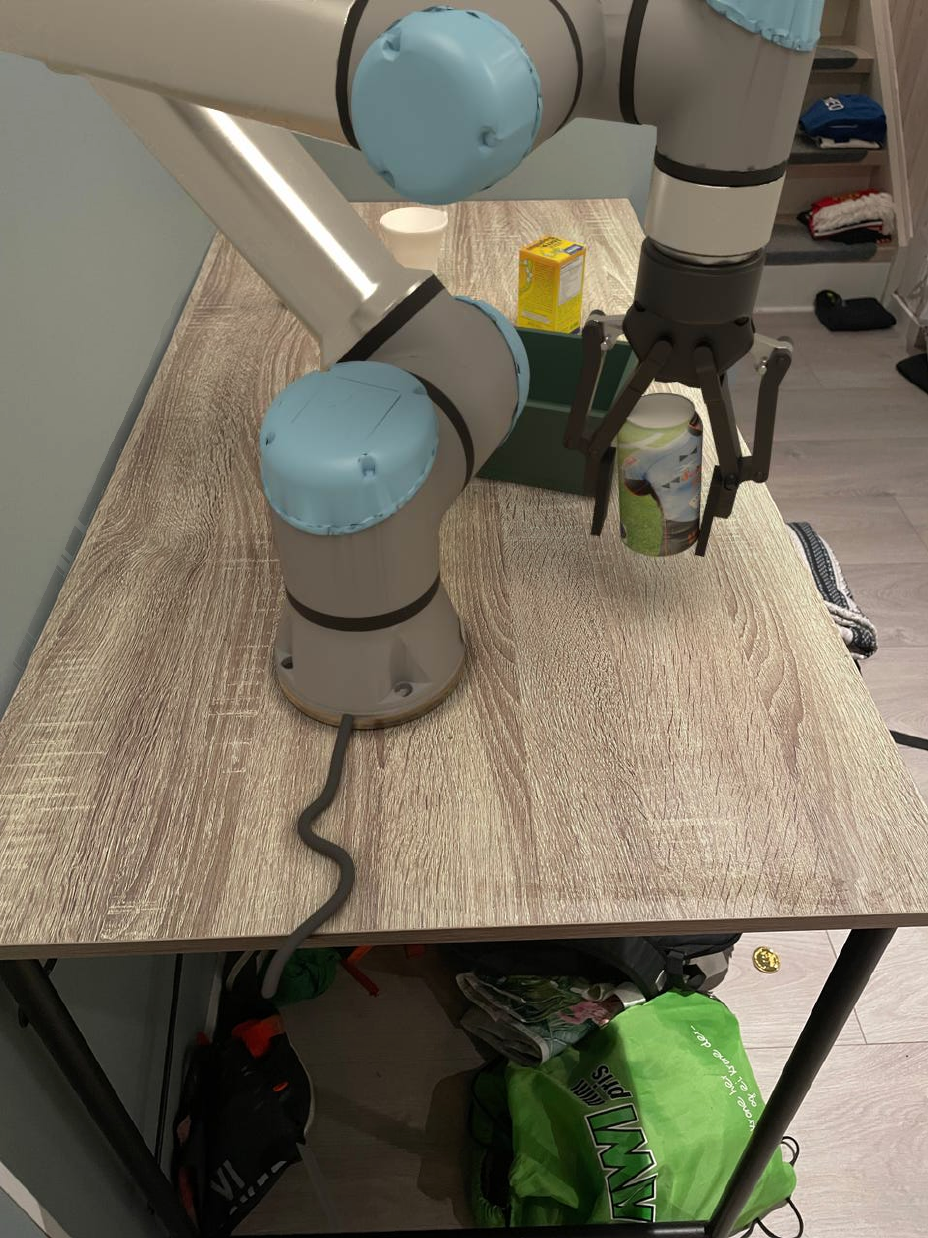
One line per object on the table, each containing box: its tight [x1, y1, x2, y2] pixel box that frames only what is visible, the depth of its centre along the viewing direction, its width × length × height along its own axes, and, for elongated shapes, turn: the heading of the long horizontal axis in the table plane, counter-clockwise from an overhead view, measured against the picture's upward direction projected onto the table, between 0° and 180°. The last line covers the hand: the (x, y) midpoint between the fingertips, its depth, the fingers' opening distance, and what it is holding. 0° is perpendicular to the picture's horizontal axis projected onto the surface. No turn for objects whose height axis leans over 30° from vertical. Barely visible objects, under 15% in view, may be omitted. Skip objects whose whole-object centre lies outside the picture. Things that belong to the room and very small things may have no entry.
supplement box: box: [516, 234, 587, 334], centre depth 112 cm, size 6×6×11 cm
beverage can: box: [617, 392, 704, 559], centre depth 68 cm, size 6×7×12 cm
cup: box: [379, 206, 449, 278], centre depth 122 cm, size 9×9×10 cm
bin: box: [474, 325, 638, 498], centre depth 94 cm, size 16×16×9 cm
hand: (649, 535), depth 71 cm, fingers closed on beverage can, 7 cm apart
